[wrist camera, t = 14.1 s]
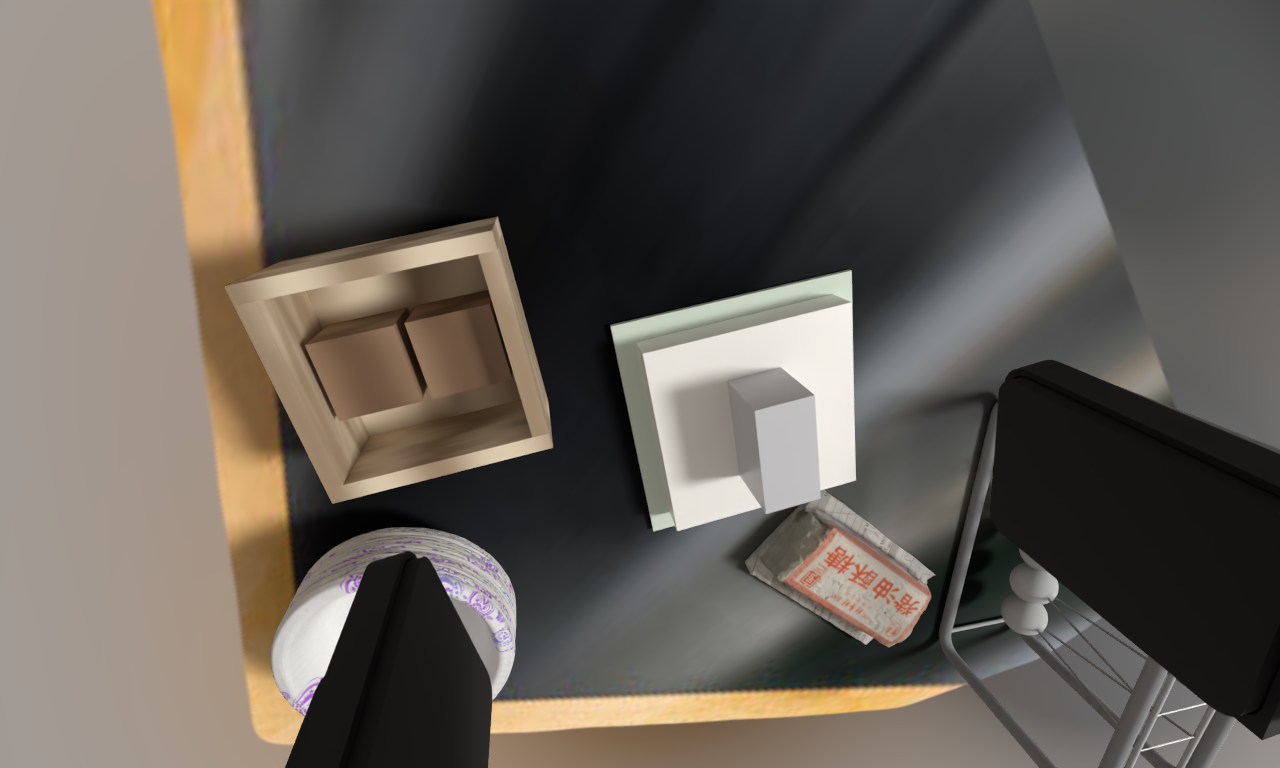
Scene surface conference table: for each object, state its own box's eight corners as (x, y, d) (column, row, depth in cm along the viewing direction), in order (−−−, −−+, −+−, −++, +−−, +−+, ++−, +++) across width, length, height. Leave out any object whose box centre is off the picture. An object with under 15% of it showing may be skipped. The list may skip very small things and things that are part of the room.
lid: (833, 294, 40) (895, 322, 34) (839, 464, 47) (893, 517, 40) (635, 342, 39) (659, 381, 32) (669, 512, 45) (695, 575, 38)
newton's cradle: (993, 388, 47) (1236, 508, 31) (1096, 375, 49) (1376, 483, 33) (932, 644, 59) (1087, 828, 43) (1017, 627, 61) (1196, 797, 45)
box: (497, 216, 34) (491, 230, 28) (548, 400, 40) (553, 447, 33) (281, 261, 33) (223, 286, 27) (363, 445, 38) (332, 503, 32)
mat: (848, 269, 40) (851, 270, 40) (852, 473, 48) (855, 475, 47) (610, 324, 38) (610, 326, 38) (652, 528, 46) (653, 531, 45)
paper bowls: (297, 644, 43) (252, 742, 36) (327, 482, 39) (283, 557, 32) (491, 662, 48) (485, 751, 41) (538, 518, 43) (542, 590, 36)
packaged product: (759, 599, 45) (844, 513, 43) (738, 560, 50) (815, 480, 48) (885, 673, 52) (963, 602, 50) (857, 633, 57) (928, 566, 55)
